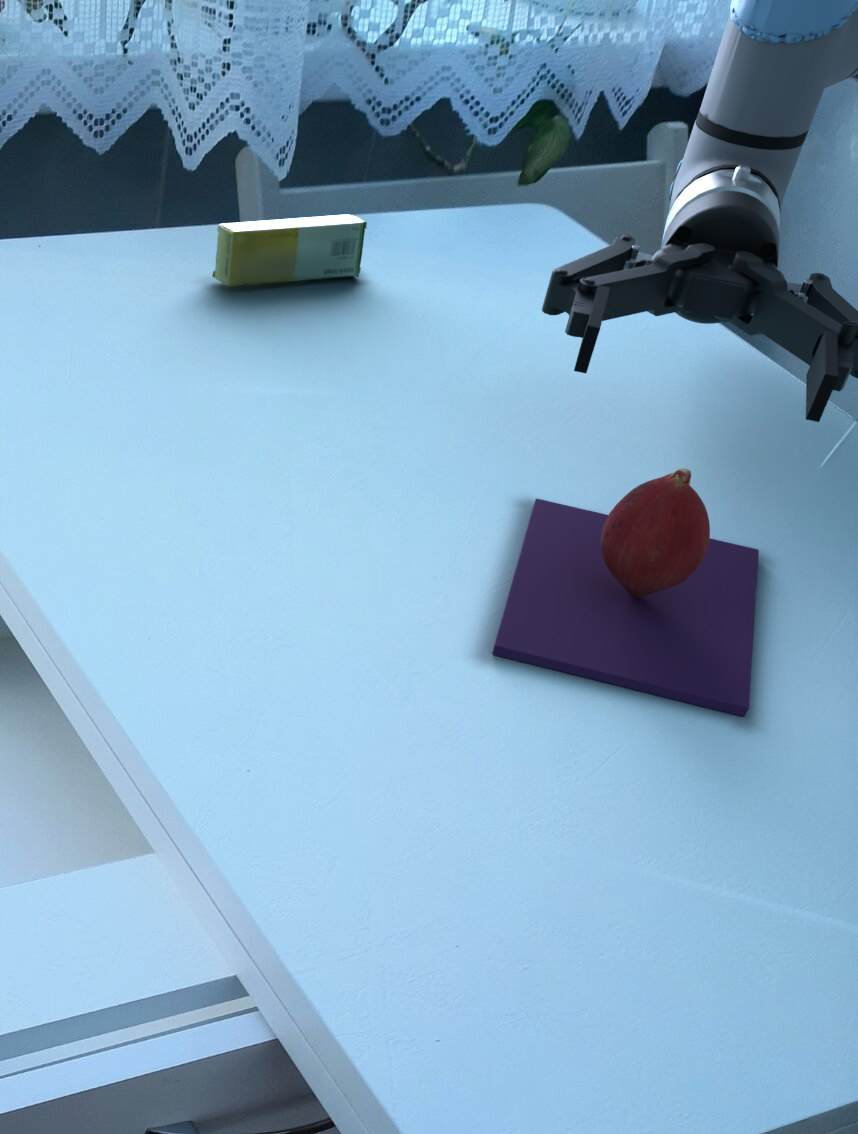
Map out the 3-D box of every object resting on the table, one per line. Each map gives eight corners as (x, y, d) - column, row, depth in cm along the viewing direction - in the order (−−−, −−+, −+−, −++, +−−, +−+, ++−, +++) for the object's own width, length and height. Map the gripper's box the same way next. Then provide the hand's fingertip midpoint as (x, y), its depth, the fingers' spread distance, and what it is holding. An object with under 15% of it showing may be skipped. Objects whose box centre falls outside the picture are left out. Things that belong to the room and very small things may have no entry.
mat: (755, 557, 95) (759, 549, 94) (744, 717, 83) (749, 708, 82) (533, 506, 97) (535, 497, 97) (491, 654, 85) (494, 645, 85)
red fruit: (569, 596, 89) (613, 468, 83) (606, 557, 92) (650, 431, 86) (663, 633, 87) (715, 505, 81) (697, 592, 90) (749, 466, 84)
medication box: (343, 267, 121) (351, 212, 119) (361, 277, 120) (370, 221, 117) (210, 277, 117) (216, 220, 115) (227, 287, 115) (233, 230, 113)
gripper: (551, 153, 102) (508, 265, 88) (935, 225, 98) (955, 354, 84) (521, 268, 108) (476, 391, 94) (884, 341, 104) (894, 480, 89)
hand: (702, 374), depth 89 cm, fingers open, 13 cm apart
